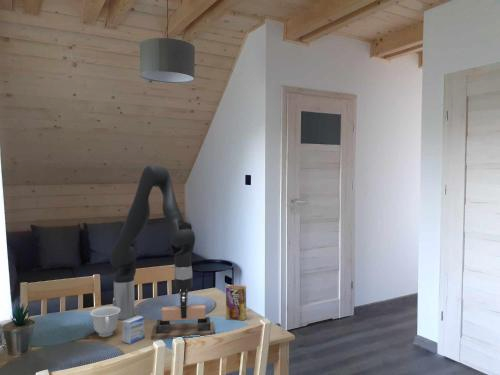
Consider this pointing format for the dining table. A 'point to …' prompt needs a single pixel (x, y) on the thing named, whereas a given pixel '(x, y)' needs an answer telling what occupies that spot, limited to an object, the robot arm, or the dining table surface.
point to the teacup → (105, 320)
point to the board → (182, 329)
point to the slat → (191, 313)
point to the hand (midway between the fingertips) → (183, 316)
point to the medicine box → (133, 329)
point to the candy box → (236, 302)
